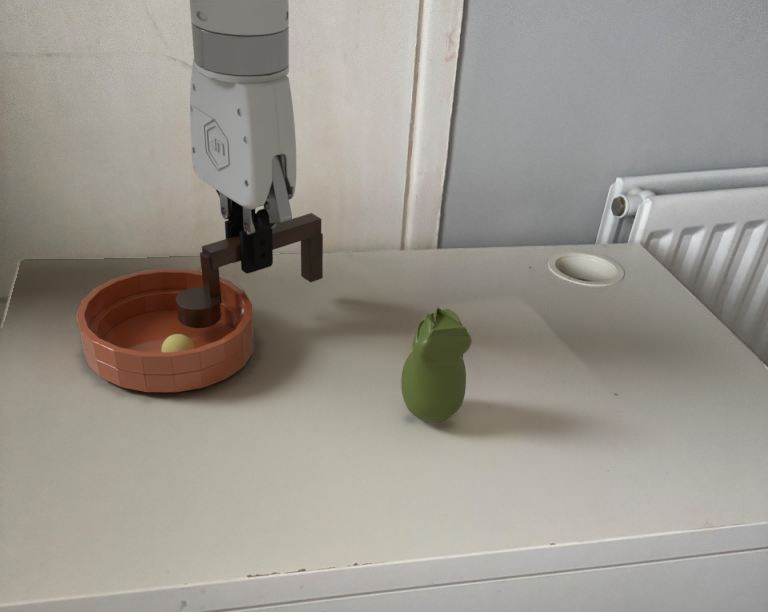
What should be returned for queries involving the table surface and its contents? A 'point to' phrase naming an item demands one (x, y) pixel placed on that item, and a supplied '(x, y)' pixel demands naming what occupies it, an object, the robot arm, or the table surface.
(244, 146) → the robot arm
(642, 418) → the table surface
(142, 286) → the bowl
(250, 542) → the table surface
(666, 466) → the table surface
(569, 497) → the table surface
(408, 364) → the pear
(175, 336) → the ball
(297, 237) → the ladle
